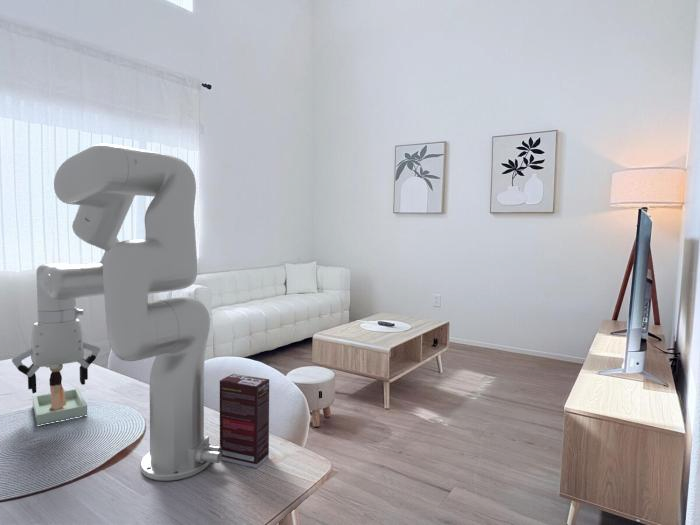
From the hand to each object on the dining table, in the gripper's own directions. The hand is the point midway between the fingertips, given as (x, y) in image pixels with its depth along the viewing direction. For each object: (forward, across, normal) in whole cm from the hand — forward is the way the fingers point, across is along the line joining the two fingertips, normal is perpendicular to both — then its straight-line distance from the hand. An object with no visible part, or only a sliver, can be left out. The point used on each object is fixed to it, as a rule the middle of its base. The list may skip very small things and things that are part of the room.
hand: (58, 387), depth 104 cm
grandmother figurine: (+6, 0, 0) cm, 6 cm away
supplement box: (+6, -26, +46) cm, 53 cm away
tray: (+6, 0, 0) cm, 6 cm away
